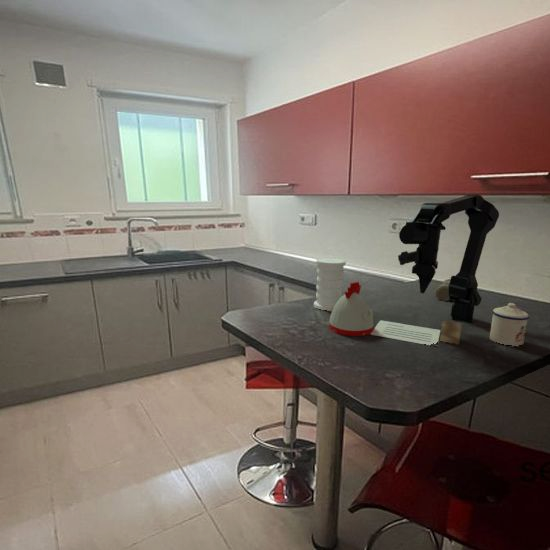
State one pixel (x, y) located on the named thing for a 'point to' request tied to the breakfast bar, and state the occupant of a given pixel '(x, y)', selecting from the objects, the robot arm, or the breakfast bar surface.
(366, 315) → the kitchen timer
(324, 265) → the decorative container
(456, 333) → the block
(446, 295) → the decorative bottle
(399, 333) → the letter
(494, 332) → the teacup with lid
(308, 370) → the breakfast bar surface
